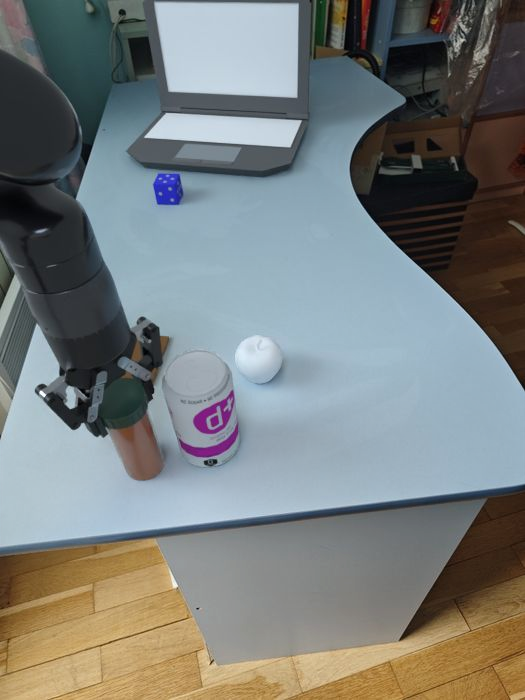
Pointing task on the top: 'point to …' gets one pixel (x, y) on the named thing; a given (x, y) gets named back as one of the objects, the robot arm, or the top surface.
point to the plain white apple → (258, 358)
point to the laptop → (227, 85)
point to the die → (168, 188)
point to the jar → (139, 449)
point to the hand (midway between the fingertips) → (124, 413)
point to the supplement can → (202, 407)
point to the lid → (123, 404)
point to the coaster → (137, 357)
